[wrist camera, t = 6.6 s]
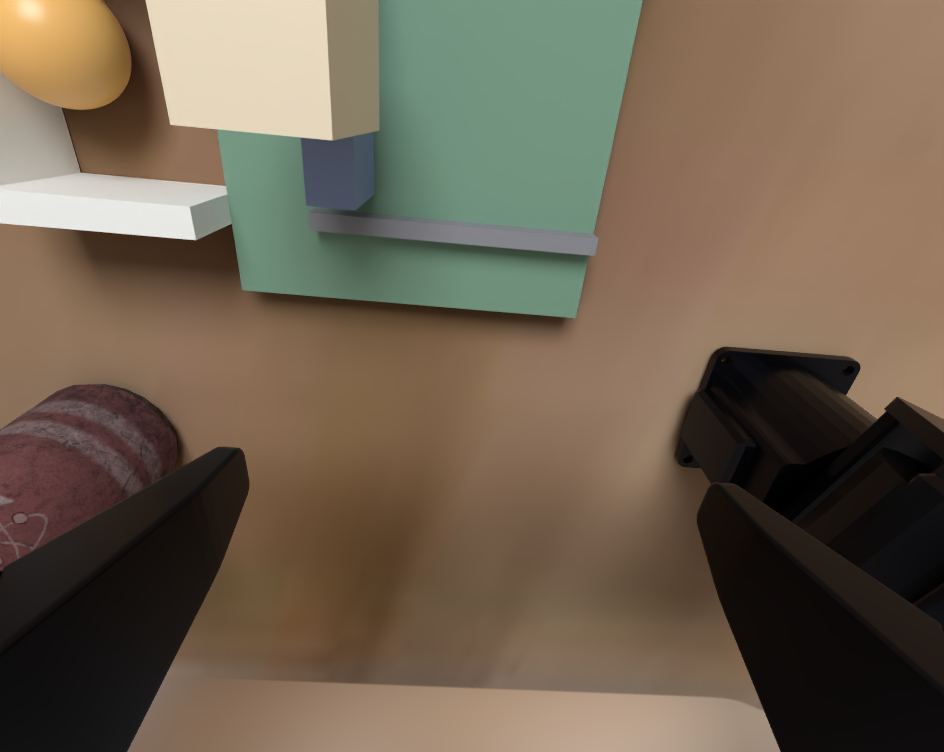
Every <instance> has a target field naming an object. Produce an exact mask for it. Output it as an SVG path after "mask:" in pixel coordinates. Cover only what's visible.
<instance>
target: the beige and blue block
mask: <svg viewBox="0 0 944 752" xmlns="http://www.w3.org/2000/svg"><path fill="white" fill-rule="evenodd" d="M146 4H147V9H148V14H149V20H150V25H151V30H152V35H153V40H154V45H155V50H156V55H157V60H158V65H159V70H160V75H161V80H162V85H163V90H164V95H165V100H166V105H167V110H168V115H169V120H170V125H179V126H189V127H199V128H209V129H220V130H230V131H240V132H250V133H261V134H271V135H281V136H291V137H301V148H302V160H303V172H304V185H305V197H306V206H313V207H324V208H335V209H346V210H357V209H358V208H359V207H360V206H361V205H362V204H364V203H365V202H366V201H367V200H368V199H370V198H371V197H372V196H373V195H374V194H375V189H374V132H375V131H379V0H146Z"/></svg>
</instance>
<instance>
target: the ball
mask: <svg viewBox="0 0 944 752" xmlns="http://www.w3.org/2000/svg"><path fill="white" fill-rule="evenodd" d="M131 64H132V62H131V53H130V48H129V44H128V41H127V38H126V36H125V33H124V31H123V29H122V27H121V25H120V23H119V22H118V20H117V19H116V17H115V16H114V14H113V13H112V11H111V10H110V9H109V8H108V6H107V5H106V4H105V3H104V2H103V1H102V0H0V72H1V73H2V74H3V75H4V76H5V77H6V78H7V79H9V80H10V81H11V82H12V83H13V84H15V85H16V86H17V87H19V88H20V89H22V90H23V91H25V92H26V93H28V94H30V95H32V96H34V97H35V98H37V99H39V100H41V101H44V102H46V103H49V104H52V105H55V106H58V107H62V108H68V109H75V110H87V109H95V108H99V107H102V106H105V105H107V104H109V103H111V102H112V101H114V100H115V99H117V98H118V97H119V96H120V94H121V93H122V92H123V91H124V89H125V88H126V86H127V84H128V81H129V78H130V75H131Z"/></svg>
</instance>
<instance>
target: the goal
mask: <svg viewBox="0 0 944 752" xmlns="http://www.w3.org/2000/svg"><path fill="white" fill-rule="evenodd" d="M0 223H5V224H16V225H28V226H39V227H51V228H62V229H73V230H85V231H96V232H108V233H119V234H130V235H142V236H153V237H164V238H176V239H187V240H198V239H200V238H202V237H204V236H206V235H208V234H211V233H213V232H215V231H217V230H219V229H221V228H223V227H226V226H228V225H230V224H232V222H231V215H230V209H229V203H228V196H227V190H226V186H219V185H208V184H197V183H186V182H176V181H165V180H154V179H143V178H133V177H122V176H111V175H100V174H89V173H81V172H80V168H79V165H78V161H77V158H76V155H75V151H74V148H73V144H72V141H71V138H70V134H69V131H68V127H67V124H66V121H65V117H64V114H63V111H62V107H58V106H55V105H52V104H49V103H46V102H44V101H41V100H39V99H37V98H35V97H34V96H32V95H30V94H28V93H26V92H25V91H23V90H22V89H20V88H19V87H17V86H16V85H15V84H13V83H12V82H11V81H10V80H9V79H7V78H6V77H5V76H4V75H3V74H2V73H1V72H0Z"/></svg>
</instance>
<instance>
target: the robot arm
mask: <svg viewBox="0 0 944 752" xmlns="http://www.w3.org/2000/svg"><path fill="white" fill-rule="evenodd" d="M726 356H729V358H728V359H727V360H726V361H724V362H722V359H723V358H724V357H726ZM847 366H848V367H847ZM846 367H847V368H846ZM844 368H846V370H844V371H843V369H844ZM859 371H860V364H859V363H858V362H857V361H855V360H854V359H852V358H850V357H845V356H833V355H821V354H808V353H796V352H784V351H772V350H760V349H748V348H736V347H722V348H720V349H718V350H717V351H715V352H714V354H713V356H712V358H711V361H710V363H709V366H708V368H707V371H706V374H705V376H704V379H703V382H702V384H701V387H700V389H699V390H698V391H697V393H696V394H695V397H694V399H693V402H692V405H691V407H690V410H689V412H688V415H687V418H686V420H685V423H684V426H683V428H682V431H681V434H680V435H681V439H680V442H679V445H678V447H677V450H676V453H675V458H676V460H677V462H678V463H679V465H681V466H683V467H692V468H701V469H702V470H703V472H704V473H705V475H706V476H707V478H708V480H709V481H710V483H711V485H710V486H709V488H708V490H707V492H706V494H705V497H704V499H703V501H702V503H701V506H700V508H699V510H698V513H697V525H698V529H699V532H700V536H701V539H702V543H703V546H704V550H705V553H706V556H707V560H708V563H709V567H710V570H711V574H712V577H713V581H714V584H715V587H716V590H717V594H718V597H719V600H720V602H721V605H722V608H723V610H724V613H725V615H726V618H727V620H728V623H729V625H730V628H731V630H732V633H733V635H734V638H735V640H736V642H737V645H738V647H739V650H740V652H741V655H742V657H743V660H744V662H745V665H746V667H747V670H748V672H749V675H750V677H751V680H752V682H753V685H754V687H755V689H756V692H757V694H758V697H759V699H760V702H761V704H762V707H763V709H764V712H765V714H766V717H767V719H768V721H769V724H770V727H771V729H772V731H773V734H774V736H775V739H776V741H777V744H778V746H779V749H780V751H781V752H944V419H942V418H940V417H938V416H936V415H934V414H932V413H930V412H928V411H926V410H924V409H922V408H920V407H918V406H916V405H914V404H912V403H910V402H908V401H906V400H904V399H901V398H899V397H896V398H895V399H894V400H893V401H892V402H891V403H890V404H889V405H888V406H887V407H886V408H884V409H885V410H886V412H885V413H884V414H883V415H882V416H881V417H880V418H879V419H878V420H877V419H876V418H875V417H873V416H872V415H871V414H869V413H868V412H867V411H866V410H864V409H863V408H862V407H860V406H859V405H858V404H856V403H855V402H854V401H852V400H851V399H850V398H849V397H847V396H846V394H847V393H848V391H849V389H850V387H851V385H852V384H853V382H854V380H855V378H856V377H857V375H858V373H859ZM687 455H689V456H688V457H687V458H684V457H685V456H687ZM248 491H249V477H248V471H247V466H246V460H245V455H244V452H243V451H242V450H241V449H240V448H234V447H217V448H215V449H213V450H211V451H209V452H208V453H206V454H204V455H202V456H201V457H199V458H197V459H195V460H193V461H192V462H190V463H188V464H186V465H185V466H183V467H181V468H179V469H177V470H176V471H174V472H172V473H170V474H168V475H167V476H165V477H163V478H161V479H160V480H158V481H156V482H154V483H152V484H151V485H149V486H147V487H145V488H144V489H142V490H140V491H138V492H136V493H135V494H133V495H131V496H129V497H127V498H126V499H124V500H122V501H120V502H119V503H117V504H115V505H113V506H111V507H110V508H108V509H106V510H104V511H103V512H101V513H99V514H97V515H95V516H94V517H92V518H90V519H88V520H86V521H85V522H83V523H81V524H79V525H78V526H76V527H74V528H72V529H70V530H69V531H67V532H65V533H63V534H61V535H60V536H58V537H56V538H54V539H53V540H51V541H49V542H47V543H45V544H44V545H42V546H40V547H38V548H36V549H35V550H33V551H31V552H29V553H28V554H26V555H24V556H22V557H20V558H19V559H17V560H15V561H13V562H11V563H10V564H8V565H6V566H5V567H4V568H3V571H2V570H0V752H127V751H128V749H129V747H130V745H131V743H132V741H133V739H134V737H135V735H136V733H137V731H138V729H139V727H140V725H141V723H142V721H143V719H144V717H145V715H146V713H147V711H148V709H149V708H150V706H151V704H152V701H153V700H154V698H155V696H156V694H157V692H158V690H159V688H160V686H161V684H162V682H163V680H164V678H165V676H166V674H167V672H168V670H169V668H170V666H171V664H172V662H173V660H174V658H175V656H176V654H177V652H178V650H179V648H180V646H181V644H182V642H183V640H184V638H185V636H186V634H187V632H188V630H189V628H190V627H191V625H192V623H193V621H194V619H195V617H196V615H197V613H198V611H199V609H200V607H201V605H202V603H203V601H204V599H205V597H206V595H207V593H208V591H209V589H210V587H211V585H212V583H213V581H214V579H215V577H216V575H217V573H218V571H219V568H220V566H221V564H222V561H223V559H224V556H225V553H226V551H227V548H228V545H229V543H230V540H231V537H232V535H233V532H234V529H235V527H236V524H237V521H238V519H239V516H240V513H241V511H242V508H243V505H244V503H245V500H246V497H247V495H248Z"/></svg>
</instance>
